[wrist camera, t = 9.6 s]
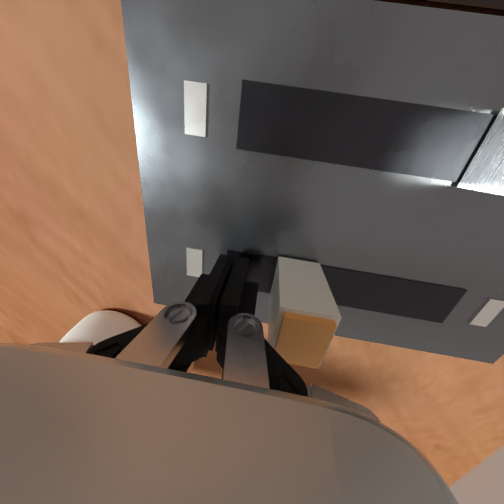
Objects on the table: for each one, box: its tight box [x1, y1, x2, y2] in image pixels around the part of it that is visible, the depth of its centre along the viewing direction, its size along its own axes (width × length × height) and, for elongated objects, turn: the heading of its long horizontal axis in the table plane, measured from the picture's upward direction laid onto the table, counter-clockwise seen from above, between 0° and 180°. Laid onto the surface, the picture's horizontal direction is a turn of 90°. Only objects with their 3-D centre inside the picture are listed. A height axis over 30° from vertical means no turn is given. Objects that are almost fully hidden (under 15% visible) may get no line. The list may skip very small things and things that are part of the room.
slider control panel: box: [121, 0, 504, 364], centre depth 10 cm, size 16×24×8 cm, turn 82°
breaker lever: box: [268, 256, 342, 369], centre depth 10 cm, size 3×2×5 cm
